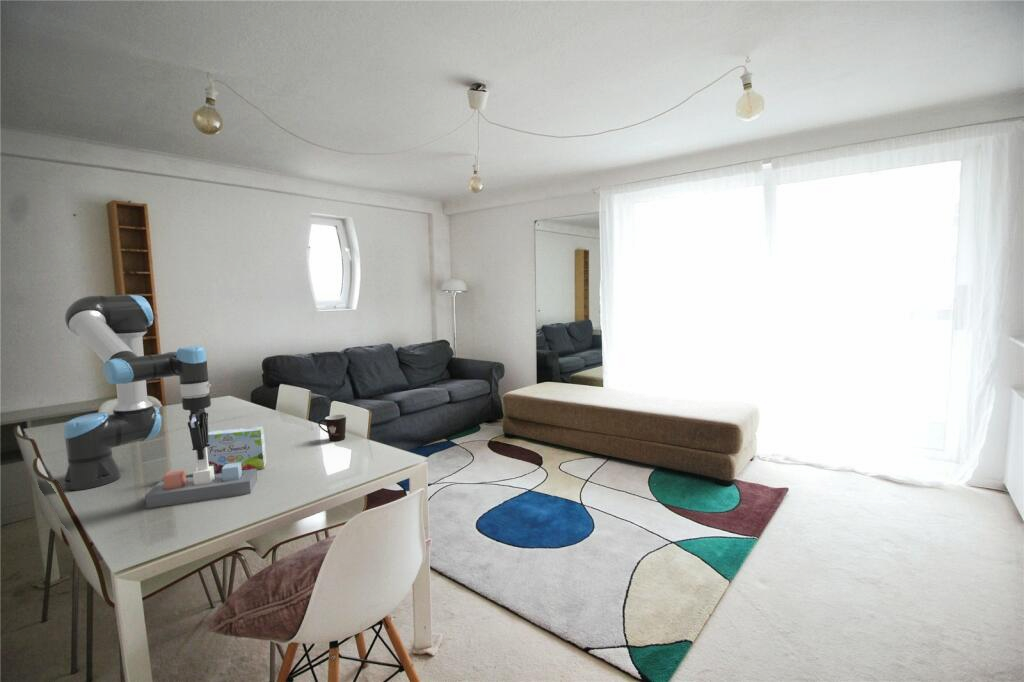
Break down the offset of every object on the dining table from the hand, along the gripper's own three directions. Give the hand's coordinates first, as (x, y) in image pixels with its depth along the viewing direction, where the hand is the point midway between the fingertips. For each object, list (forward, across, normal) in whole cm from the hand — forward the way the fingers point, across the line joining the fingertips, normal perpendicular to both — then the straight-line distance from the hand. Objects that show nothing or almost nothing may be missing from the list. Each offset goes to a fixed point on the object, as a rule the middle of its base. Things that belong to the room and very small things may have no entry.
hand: (203, 468), depth 154 cm
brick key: (+5, 0, +8) cm, 9 cm away
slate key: (+5, 0, -8) cm, 9 cm away
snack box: (+9, +20, -4) cm, 22 cm away
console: (+8, 0, 0) cm, 8 cm away
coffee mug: (+9, +46, -38) cm, 60 cm away
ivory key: (+5, 0, 0) cm, 5 cm away
